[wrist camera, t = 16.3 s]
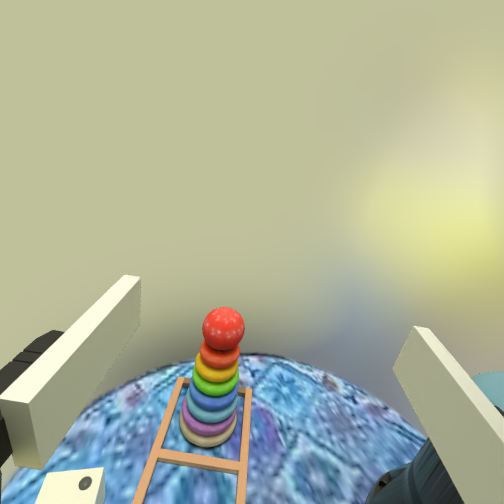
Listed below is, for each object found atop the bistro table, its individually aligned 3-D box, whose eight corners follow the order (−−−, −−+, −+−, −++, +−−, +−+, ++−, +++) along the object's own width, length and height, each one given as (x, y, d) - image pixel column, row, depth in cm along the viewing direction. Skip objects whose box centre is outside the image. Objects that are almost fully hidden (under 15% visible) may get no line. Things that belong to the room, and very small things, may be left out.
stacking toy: (243, 440, 38) (270, 331, 31) (184, 459, 35) (199, 342, 27) (225, 391, 44) (244, 292, 37) (174, 403, 41) (184, 297, 34)
